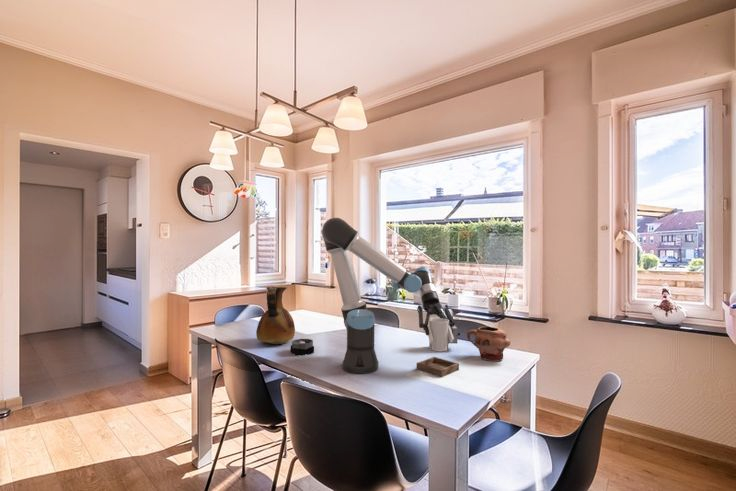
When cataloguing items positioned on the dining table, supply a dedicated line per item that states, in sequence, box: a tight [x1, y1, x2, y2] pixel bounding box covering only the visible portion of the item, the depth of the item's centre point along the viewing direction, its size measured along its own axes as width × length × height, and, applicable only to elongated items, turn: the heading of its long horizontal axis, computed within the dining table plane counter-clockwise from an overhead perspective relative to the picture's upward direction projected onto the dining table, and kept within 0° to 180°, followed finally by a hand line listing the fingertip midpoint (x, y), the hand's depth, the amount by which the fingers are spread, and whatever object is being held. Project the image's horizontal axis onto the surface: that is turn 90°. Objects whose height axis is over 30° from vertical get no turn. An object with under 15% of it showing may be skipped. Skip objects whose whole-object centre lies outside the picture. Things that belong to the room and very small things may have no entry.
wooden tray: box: [416, 356, 460, 378], centre depth 144 cm, size 12×12×3 cm
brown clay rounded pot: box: [466, 326, 511, 362], centre depth 160 cm, size 20×12×14 cm, turn 56°
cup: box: [429, 318, 449, 352], centre depth 145 cm, size 8×8×12 cm
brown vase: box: [255, 285, 296, 345], centre depth 184 cm, size 20×20×30 cm
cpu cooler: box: [290, 338, 315, 356], centre depth 167 cm, size 10×6×10 cm
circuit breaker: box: [428, 316, 461, 352], centre depth 175 cm, size 8×14×15 cm, turn 89°
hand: (442, 341), depth 141 cm, fingers closed on cup, 8 cm apart
